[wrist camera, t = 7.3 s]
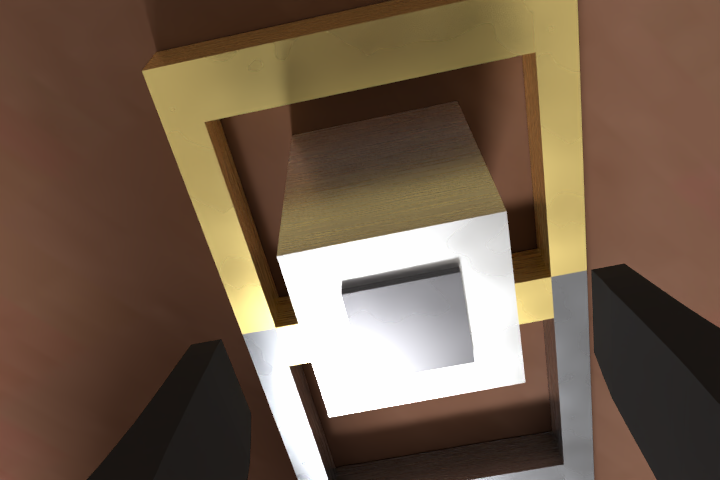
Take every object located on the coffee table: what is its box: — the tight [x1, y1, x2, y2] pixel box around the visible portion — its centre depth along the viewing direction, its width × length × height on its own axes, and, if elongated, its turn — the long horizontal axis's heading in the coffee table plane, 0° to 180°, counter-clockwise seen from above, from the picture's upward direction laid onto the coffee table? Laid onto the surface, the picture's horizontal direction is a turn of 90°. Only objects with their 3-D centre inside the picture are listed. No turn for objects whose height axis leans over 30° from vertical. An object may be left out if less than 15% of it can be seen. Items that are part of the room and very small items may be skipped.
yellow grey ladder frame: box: [142, 0, 594, 480], centre depth 23 cm, size 10×26×2 cm, turn 11°
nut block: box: [277, 101, 525, 417], centre depth 17 cm, size 4×4×6 cm
